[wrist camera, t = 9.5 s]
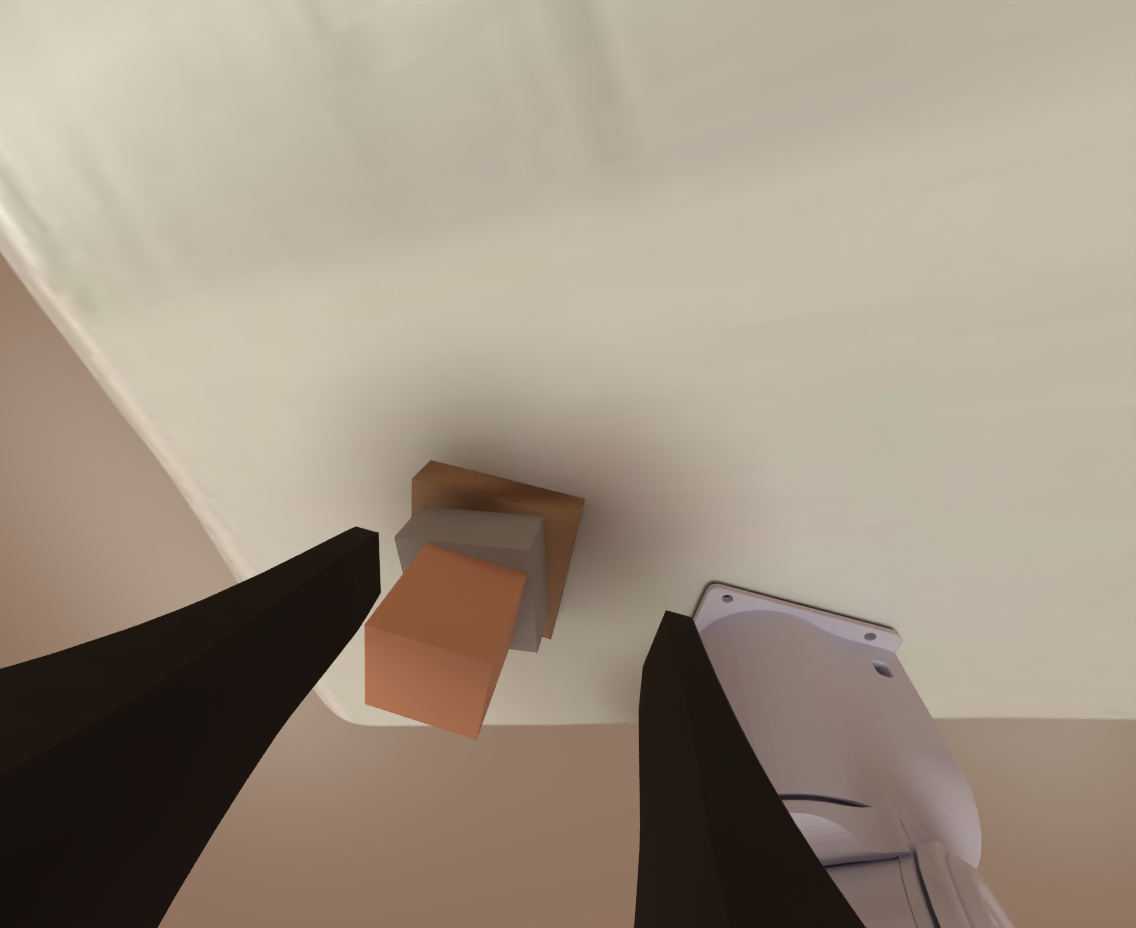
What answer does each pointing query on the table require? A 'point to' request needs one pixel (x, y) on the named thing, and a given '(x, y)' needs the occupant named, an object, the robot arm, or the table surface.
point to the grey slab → (489, 554)
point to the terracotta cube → (442, 639)
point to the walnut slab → (506, 496)
